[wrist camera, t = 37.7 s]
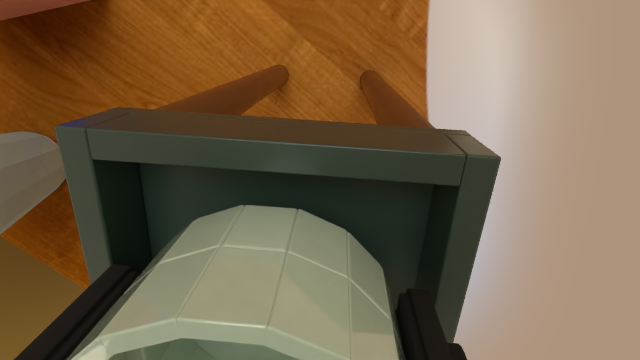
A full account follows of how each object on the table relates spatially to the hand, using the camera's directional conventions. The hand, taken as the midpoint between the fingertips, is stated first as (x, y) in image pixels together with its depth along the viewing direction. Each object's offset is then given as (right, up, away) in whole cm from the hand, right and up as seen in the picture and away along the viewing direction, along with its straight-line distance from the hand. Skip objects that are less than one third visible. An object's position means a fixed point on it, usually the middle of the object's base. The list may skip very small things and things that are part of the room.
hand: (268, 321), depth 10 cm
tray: (+1, +6, +26) cm, 27 cm away
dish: (0, 0, +1) cm, 1 cm away
